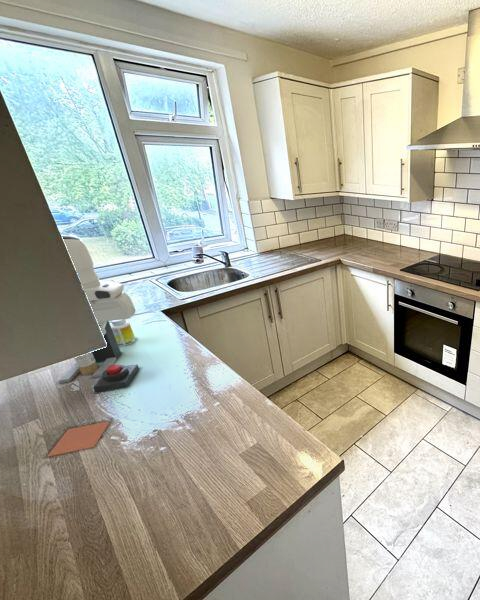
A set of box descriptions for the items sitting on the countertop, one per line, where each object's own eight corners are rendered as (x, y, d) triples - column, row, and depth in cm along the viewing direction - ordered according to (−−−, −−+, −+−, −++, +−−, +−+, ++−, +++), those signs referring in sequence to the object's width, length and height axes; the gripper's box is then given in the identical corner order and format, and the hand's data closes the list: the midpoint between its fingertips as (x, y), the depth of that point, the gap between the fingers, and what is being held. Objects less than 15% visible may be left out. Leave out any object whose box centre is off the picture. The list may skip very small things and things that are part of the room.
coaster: (47, 458, 77) (46, 456, 76) (69, 430, 84) (68, 429, 84) (94, 448, 79) (93, 446, 79) (111, 422, 87) (110, 420, 87)
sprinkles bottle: (87, 368, 110) (71, 333, 104) (102, 367, 110) (87, 332, 105) (77, 376, 105) (60, 340, 100) (93, 375, 106) (77, 339, 101)
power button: (106, 375, 100) (104, 370, 99) (111, 369, 103) (109, 365, 102) (119, 373, 101) (117, 369, 100) (123, 367, 104) (121, 363, 103)
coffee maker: (60, 384, 102) (30, 323, 94) (84, 360, 114) (59, 304, 106) (103, 377, 105) (78, 318, 97) (121, 354, 117) (100, 300, 109)
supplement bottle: (138, 338, 128) (129, 314, 124) (133, 345, 123) (124, 321, 119) (121, 340, 126) (111, 317, 122) (115, 348, 121) (105, 323, 117)
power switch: (95, 393, 98) (90, 382, 96) (110, 374, 107) (106, 364, 105) (127, 388, 100) (123, 377, 99) (139, 370, 109) (135, 359, 107)
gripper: (26, 300, 85) (48, 345, 91) (120, 291, 92) (135, 334, 97) (41, 291, 91) (61, 335, 96) (129, 284, 97) (143, 325, 103)
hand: (99, 334), depth 97 cm, fingers closed
